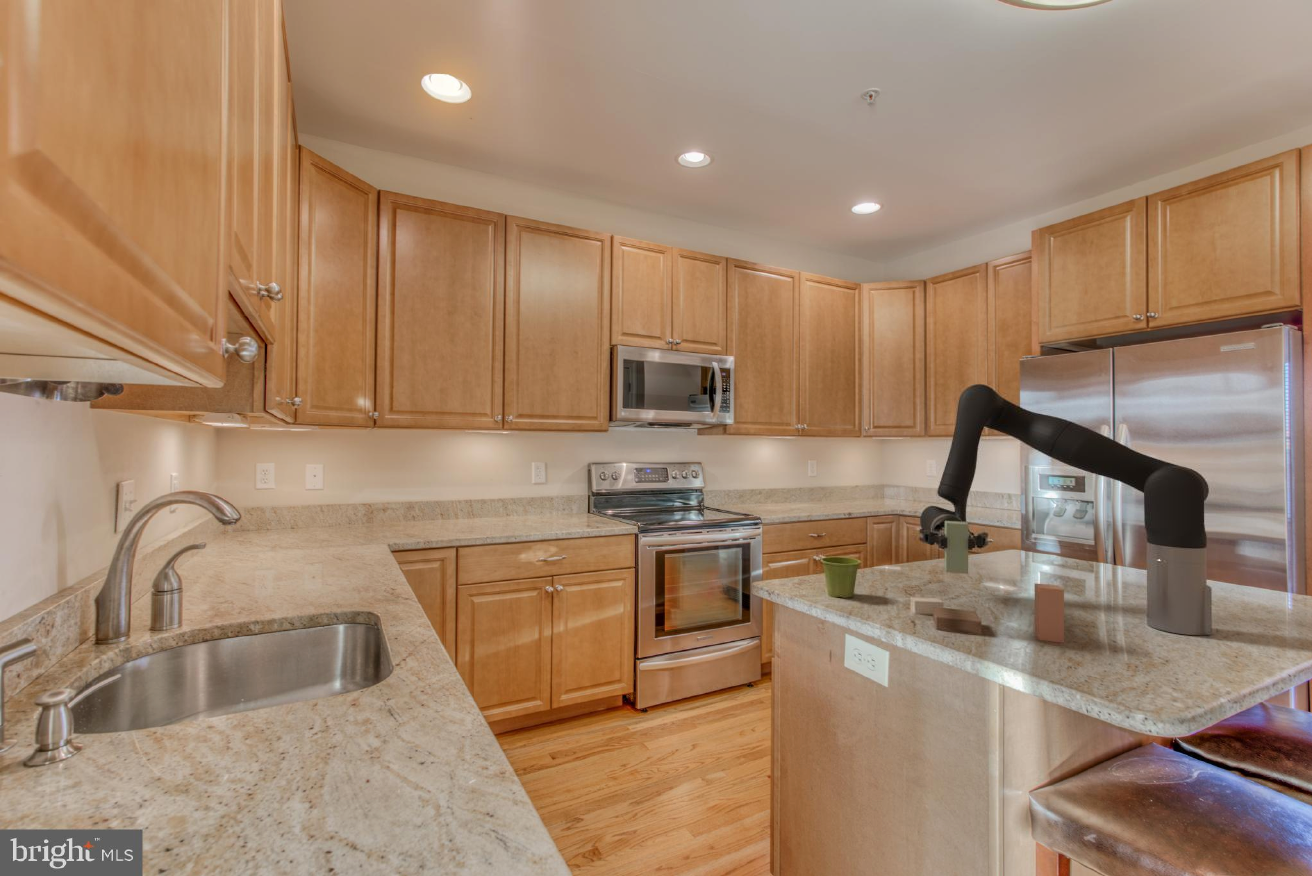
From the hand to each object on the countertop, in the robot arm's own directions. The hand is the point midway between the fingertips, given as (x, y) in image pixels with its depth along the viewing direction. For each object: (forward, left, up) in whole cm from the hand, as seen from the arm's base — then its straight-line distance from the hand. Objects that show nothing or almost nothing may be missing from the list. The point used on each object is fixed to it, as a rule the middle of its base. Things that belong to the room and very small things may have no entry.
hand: (957, 543), depth 119 cm
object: (+24, -20, -18) cm, 36 cm away
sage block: (0, -3, -6) cm, 7 cm away
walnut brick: (0, -3, -18) cm, 18 cm away
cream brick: (+5, -12, -18) cm, 22 cm away
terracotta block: (-16, -2, -17) cm, 24 cm away
